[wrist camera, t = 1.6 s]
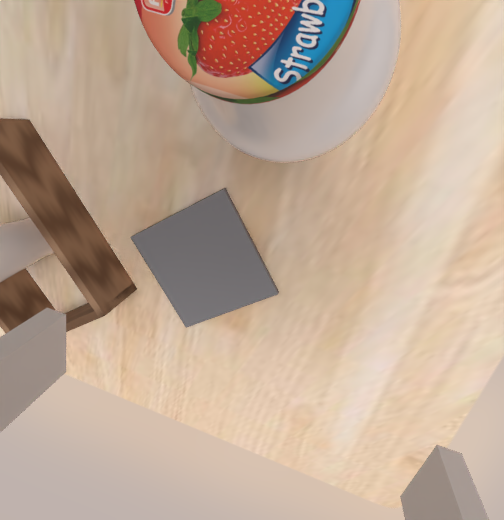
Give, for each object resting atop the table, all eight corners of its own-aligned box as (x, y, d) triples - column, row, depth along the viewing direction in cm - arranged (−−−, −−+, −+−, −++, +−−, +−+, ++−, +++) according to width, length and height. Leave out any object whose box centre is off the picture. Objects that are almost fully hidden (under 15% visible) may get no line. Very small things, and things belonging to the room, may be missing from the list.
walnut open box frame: (-46, 179, 44) (-109, 187, 38) (29, 119, 39) (-30, 117, 32) (59, 323, 50) (19, 351, 44) (136, 288, 44) (105, 315, 38)
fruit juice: (337, 159, 33) (373, 254, 8) (250, 132, 34) (24, 136, 9) (377, 55, 29) (704, -438, 4) (278, 27, 30) (12, -535, 5)
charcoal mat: (133, 235, 42) (130, 237, 41) (225, 187, 37) (223, 188, 36) (187, 325, 45) (186, 327, 44) (278, 291, 40) (278, 294, 40)
